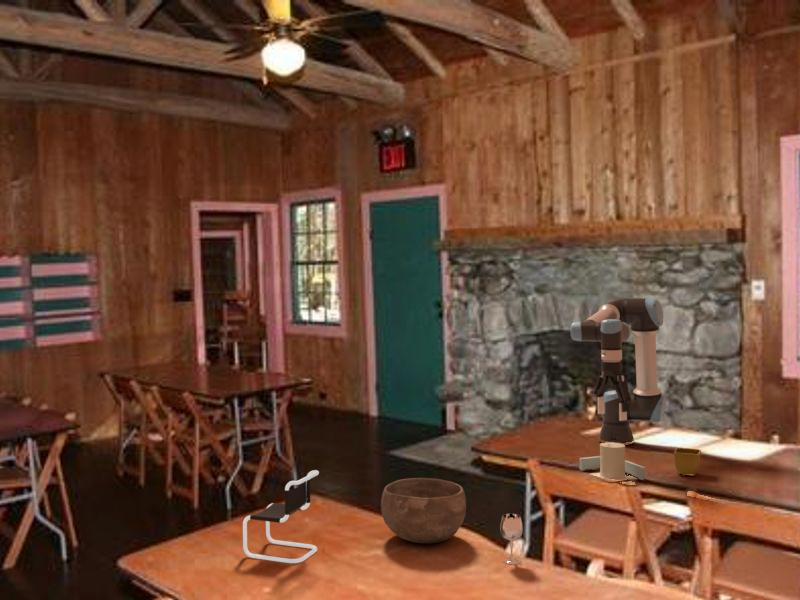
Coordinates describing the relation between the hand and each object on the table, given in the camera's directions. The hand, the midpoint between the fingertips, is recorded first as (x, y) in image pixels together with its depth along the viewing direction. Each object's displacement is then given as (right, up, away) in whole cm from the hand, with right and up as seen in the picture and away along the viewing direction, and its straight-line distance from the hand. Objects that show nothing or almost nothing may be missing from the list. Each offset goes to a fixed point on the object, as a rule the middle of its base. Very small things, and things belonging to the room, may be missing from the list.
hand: (611, 417), depth 298 cm
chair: (-112, -25, -81) cm, 141 cm away
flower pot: (+27, -21, -2) cm, 35 cm away
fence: (0, -21, -1) cm, 21 cm away
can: (-1, -21, -5) cm, 22 cm away
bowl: (-73, -25, -71) cm, 105 cm away
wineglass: (-50, -25, -90) cm, 106 cm away
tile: (-1, -21, -6) cm, 22 cm away
